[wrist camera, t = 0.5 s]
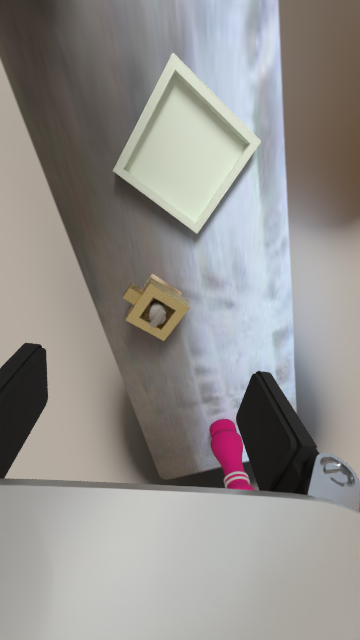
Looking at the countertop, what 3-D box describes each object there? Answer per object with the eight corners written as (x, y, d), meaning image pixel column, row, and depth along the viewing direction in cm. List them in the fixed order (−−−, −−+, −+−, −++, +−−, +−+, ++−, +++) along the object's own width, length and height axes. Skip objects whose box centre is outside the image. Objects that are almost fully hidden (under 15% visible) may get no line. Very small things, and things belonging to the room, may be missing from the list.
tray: (115, 171, 35) (112, 170, 33) (171, 61, 30) (172, 52, 28) (195, 231, 39) (197, 233, 37) (255, 144, 34) (261, 141, 32)
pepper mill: (214, 414, 59) (238, 511, 41) (241, 420, 60) (276, 515, 43) (203, 434, 62) (221, 533, 44) (229, 439, 63) (256, 536, 46)
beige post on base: (134, 301, 44) (128, 324, 36) (152, 273, 42) (150, 292, 34) (162, 317, 46) (163, 342, 38) (181, 292, 44) (186, 313, 36)
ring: (163, 331, 42) (164, 341, 40) (116, 305, 40) (113, 313, 37) (187, 300, 40) (189, 307, 37) (139, 269, 37) (137, 275, 34)
